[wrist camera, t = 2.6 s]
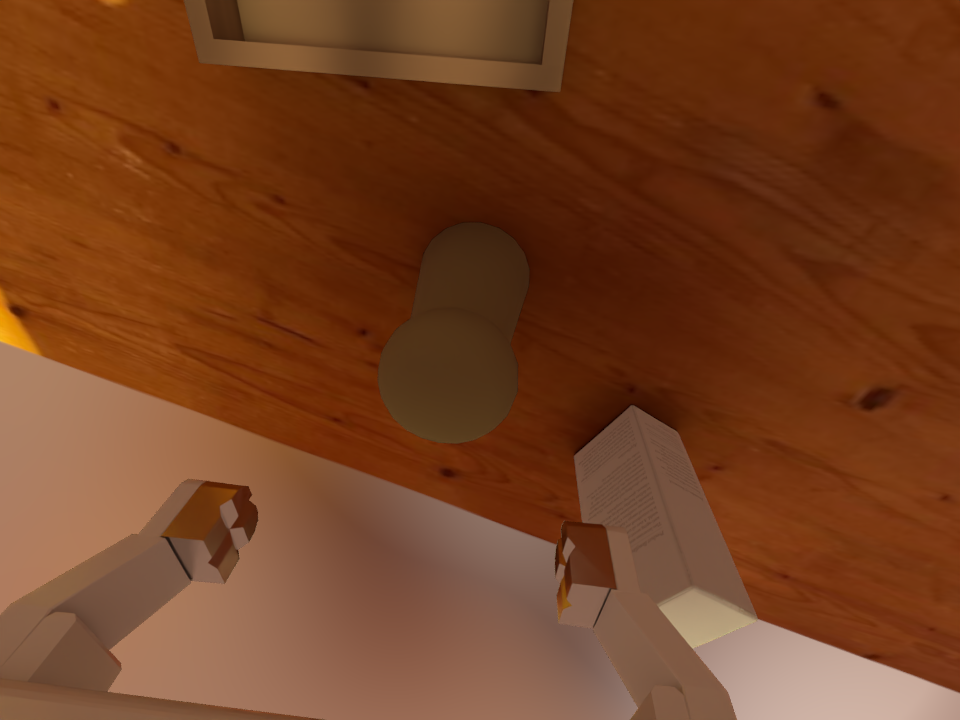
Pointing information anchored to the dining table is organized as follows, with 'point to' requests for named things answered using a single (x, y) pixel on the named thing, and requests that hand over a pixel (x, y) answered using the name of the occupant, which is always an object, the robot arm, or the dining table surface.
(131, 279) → the dining table surface
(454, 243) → the cork
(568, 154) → the dining table surface
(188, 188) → the dining table surface
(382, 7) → the tray
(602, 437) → the skincare box
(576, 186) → the dining table surface
